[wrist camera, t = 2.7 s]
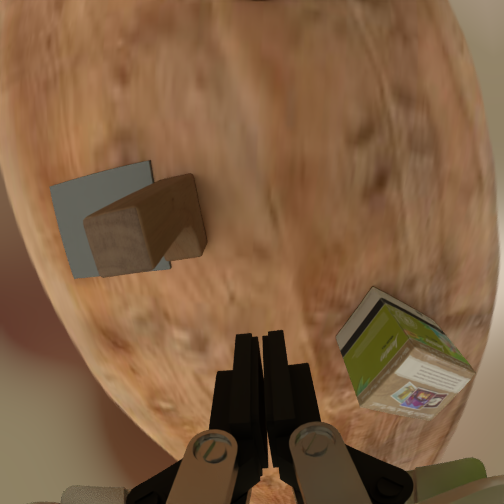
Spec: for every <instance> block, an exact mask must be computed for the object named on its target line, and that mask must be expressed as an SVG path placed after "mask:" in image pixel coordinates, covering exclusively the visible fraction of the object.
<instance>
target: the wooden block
mask: <svg viewBox="0 0 504 504" xmlns="http://www.w3.org/2000/svg"><path fill="white" fill-rule="evenodd" d="M83 226H84V229H85V233H86V236H87V239H88V243H89V246H90V249H91V252H92V255H93V258H94V261H95V264H96V267H97V270H98V273H99V275H100V276H101V277H103V278H104V277H111V276H118V275H125V274H132V273H139V272H146V271H152V270H153V269H155V267H156V266H157V264H158V263H159V262H160V260H161V259H162V257H163V256H164V258H165V260H166V261H175V260H181V259H188V258H195V257H200V256H202V254H203V252H204V249H205V247H206V245H207V239H206V234H205V230H204V225H203V221H202V216H201V211H200V206H199V201H198V197H197V192H196V187H195V182H194V177H193V175H192V174H185V175H180V176H176V177H171V178H167V179H162V180H159V181H157V182H155V183H153V184H150V185H148V186H146V187H144V188H142V189H140V190H138V191H135V192H133V193H131V194H129V195H127V196H125V197H123V198H121V199H119V200H117V201H115V202H113V203H111V204H109V205H107V206H105V207H103V208H102V209H100V210H98V211H96V212H94V213H92V214H90V215H88V216H87V217H86V218H84V220H83Z"/></svg>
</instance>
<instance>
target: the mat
mask: <svg viewBox="0 0 504 504" xmlns="http://www.w3.org/2000/svg"><path fill="white" fill-rule="evenodd" d="M153 183H154V179H153V173H152V167H151V161H145V162H140V163H136V164H131V165H127V166H123V167H119V168H115V169H111V170H107V171H103V172H99V173H95V174H91V175H88V176H84V177H81V178H77V179H74V180H70V181H67V182H64V183H60V184H57V185H54V186H51V187H50V192H51V197H52V201H53V206H54V210H55V215H56V219H57V223H58V227H59V230H60V234H61V238H62V241H63V245H64V248H65V252H66V255H67V258H68V261H69V265H70V268H71V271H72V274H73V277H74V279H76V278H86V277H97V276H100V275H99V273H98V270H97V267H96V264H95V261H94V258H93V255H92V252H91V249H90V246H89V243H88V239H87V236H86V233H85V229H84V226H83V220H84V218H86V217H87V216H88V215H90V214H92V213H94V212H96V211H98V210H100V209H102V208H103V207H105V206H107V205H109V204H111V203H113V202H115V201H117V200H119V199H121V198H123V197H125V196H127V195H129V194H131V193H133V192H135V191H138V190H140V189H142V188H144V187H146V186H148V185H150V184H153ZM167 269H171V263H170V261H166V260H165V258H164V256H163V257H162V259H161V260H160V262H159V263H158V264H157V266H156V267H155V269H153V270H152V271H157V270H167ZM146 272H147V271H146Z"/></svg>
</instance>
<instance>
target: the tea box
mask: <svg viewBox="0 0 504 504" xmlns="http://www.w3.org/2000/svg"><path fill="white" fill-rule="evenodd" d="M336 340H337V343H338V346H339V348H340V351H341V354H342V356H343V359H344V362H345V365H346V368H347V371H348V373H349V376H350V379H351V382H352V385H353V388H354V390H355V393H356V396H357V399H358V402H359V405H360V407H363V408H367V409H371V410H376V411H381V412H385V413H390V414H395V415H400V416H406V417H411V418H416V419H422V420H428V421H431V420H432V419H433V418H434V417H435V416H436V415H437V414H438V413H439V412H440V411H441V410H442V409H443V408H444V407H445V406H446V405H447V404H448V403H449V402H450V401H451V400H452V399H453V398H454V397H455V396H456V395H457V394H458V393H459V392H460V390H461V389H462V388H463V387H464V386H465V385H466V384H467V383H468V382H469V380H470V379H471V378H472V377H473V376H474V375H475V374H476V373H475V371H474V370H473V368H472V367H471V365H470V364H469V363H468V362H467V360H466V359H465V358H464V357H463V356H462V354H461V353H460V352H459V350H458V349H457V348H456V347H455V346H454V344H453V343H452V342H451V341H450V339H449V338H448V337H447V336H446V335H445V333H444V332H443V331H442V330H441V329H440V327H439V326H438V325H437V324H436V323H435V322H434V321H433V320H432V319H430V318H429V317H427V316H425V315H424V314H422V313H420V312H418V311H417V310H415V309H413V308H411V307H409V306H408V305H406V304H404V303H403V302H401V301H399V300H397V299H395V298H393V297H391V296H390V295H388V294H386V293H384V292H382V291H380V290H379V289H377V288H375V287H372V288H371V289H370V291H369V292H368V294H367V295H366V296H365V298H364V299H363V301H362V302H361V303H360V305H359V306H358V308H357V309H356V310H355V312H354V313H353V314H352V316H351V317H350V318H349V320H348V321H347V322H346V324H345V325H344V326H343V328H342V329H341V330H340V332H339V333H338V335H337V336H336Z"/></svg>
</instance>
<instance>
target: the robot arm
mask: <svg viewBox="0 0 504 504" xmlns="http://www.w3.org/2000/svg"><path fill="white" fill-rule="evenodd" d="M262 340H263V366H264V377H263V370H262V363H261V356H260V349H259V341H258V337H252V334H251V333H247V334H236V340H235V351H234V363H233V370H227V371H218V372H217V375H216V382H215V388H214V395H213V403H212V410H211V417H210V424H209V430H206V431H203V432H201V433H199V434H197V435H195V436H194V437H193V438H192V439H191V441H190V442H189V444H188V446H187V449H186V451H185V454H184V457H183V459H181V460H179V461H178V462H176V463H175V464H173V465H172V466H170V467H168V468H167V469H165V470H163V471H162V472H160V473H158V474H157V475H155V476H153V477H152V478H150V479H148V480H147V481H145V482H143V483H141V484H139V485H138V486H136V487H135V488H133V489H125V488H124V487H95V486H80V485H77V486H70V487H68V488H67V489H66V490H65V491H64V492H63V494H62V497H61V503H56V502H33V503H28V504H249V502H250V497H251V492H252V487H253V486H254V485H256V484H257V483H258V482H259V481H260V476H262V468H268V443H267V432H268V439H269V445H270V451H271V457H272V463H273V468H275V467H279V474H280V479H281V480H282V481H284V482H285V483H287V484H288V485H290V486H292V491H293V494H294V498H295V501H296V504H504V475H499V476H492V477H487V475H486V470H485V467H484V465H483V463H482V462H481V461H480V460H478V459H476V458H464V459H460V460H455V461H450V462H446V463H440V464H435V465H429V466H422V467H416V468H415V469H414V470H409V471H404V470H403V469H401V468H398V467H396V466H393V465H391V464H388V463H386V462H383V461H381V460H379V459H376V458H374V457H372V456H370V455H367V454H365V453H363V452H361V451H359V450H356V449H354V448H352V447H350V446H348V445H346V444H345V443H344V441H343V439H342V437H341V435H340V433H339V432H338V430H337V429H336V428H335V427H333V426H332V425H330V424H327V423H325V422H321V419H320V414H319V409H318V404H317V400H316V395H315V390H314V386H313V381H312V376H311V372H310V367H309V364H308V363H302V364H294V365H288V361H287V354H286V347H285V340H284V333H283V330H277V331H268V336H262Z"/></svg>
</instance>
